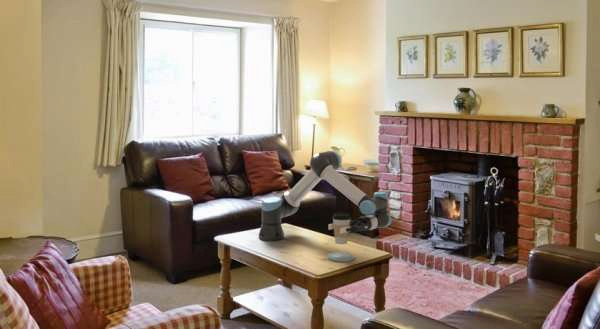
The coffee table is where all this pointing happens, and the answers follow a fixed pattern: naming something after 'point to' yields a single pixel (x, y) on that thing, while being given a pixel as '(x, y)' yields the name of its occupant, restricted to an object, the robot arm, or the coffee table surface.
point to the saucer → (340, 257)
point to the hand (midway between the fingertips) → (334, 228)
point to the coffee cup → (340, 222)
